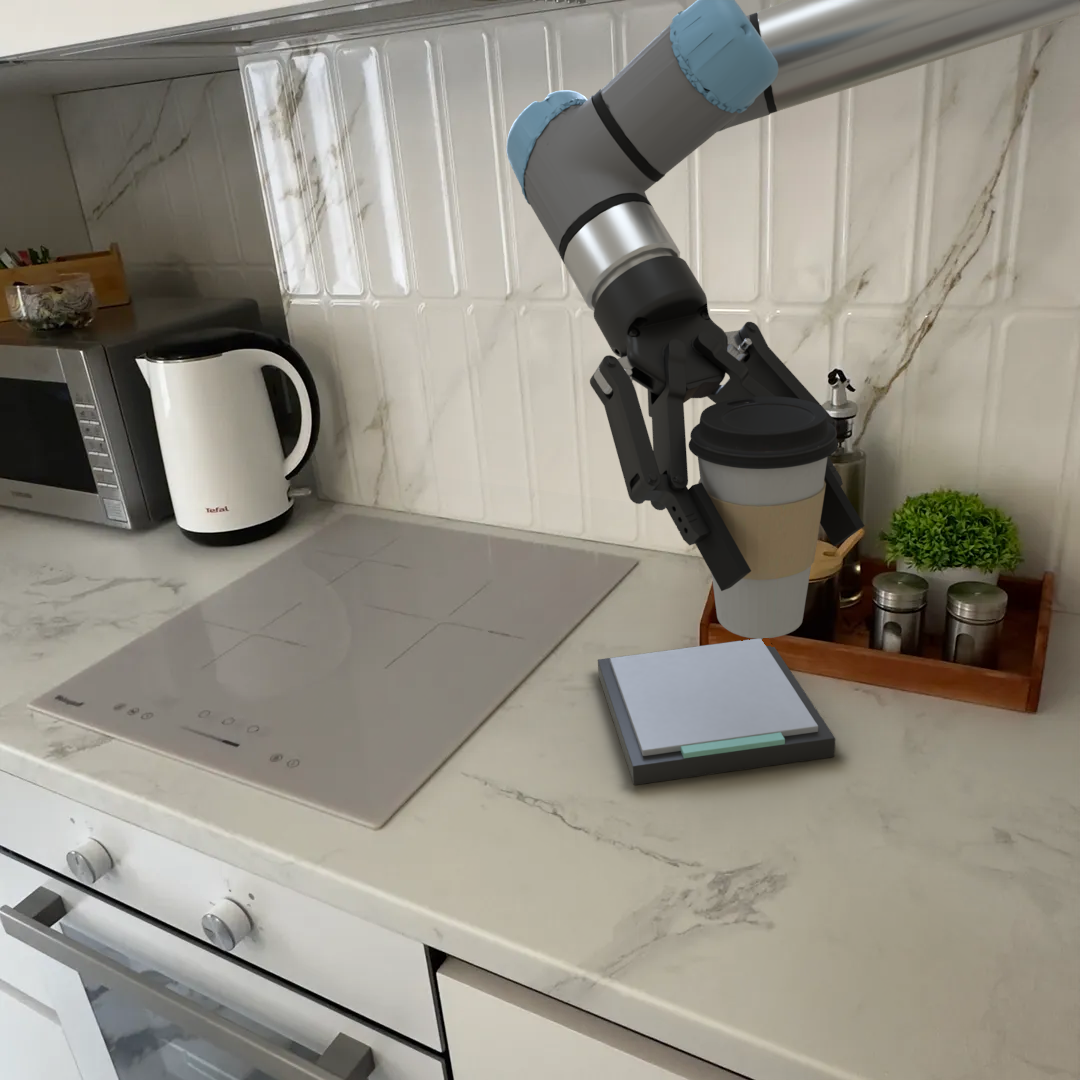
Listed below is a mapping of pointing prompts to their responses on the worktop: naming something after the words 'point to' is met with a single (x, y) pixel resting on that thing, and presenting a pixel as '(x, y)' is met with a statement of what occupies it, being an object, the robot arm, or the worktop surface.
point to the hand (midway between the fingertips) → (794, 557)
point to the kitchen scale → (710, 711)
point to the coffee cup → (766, 503)
